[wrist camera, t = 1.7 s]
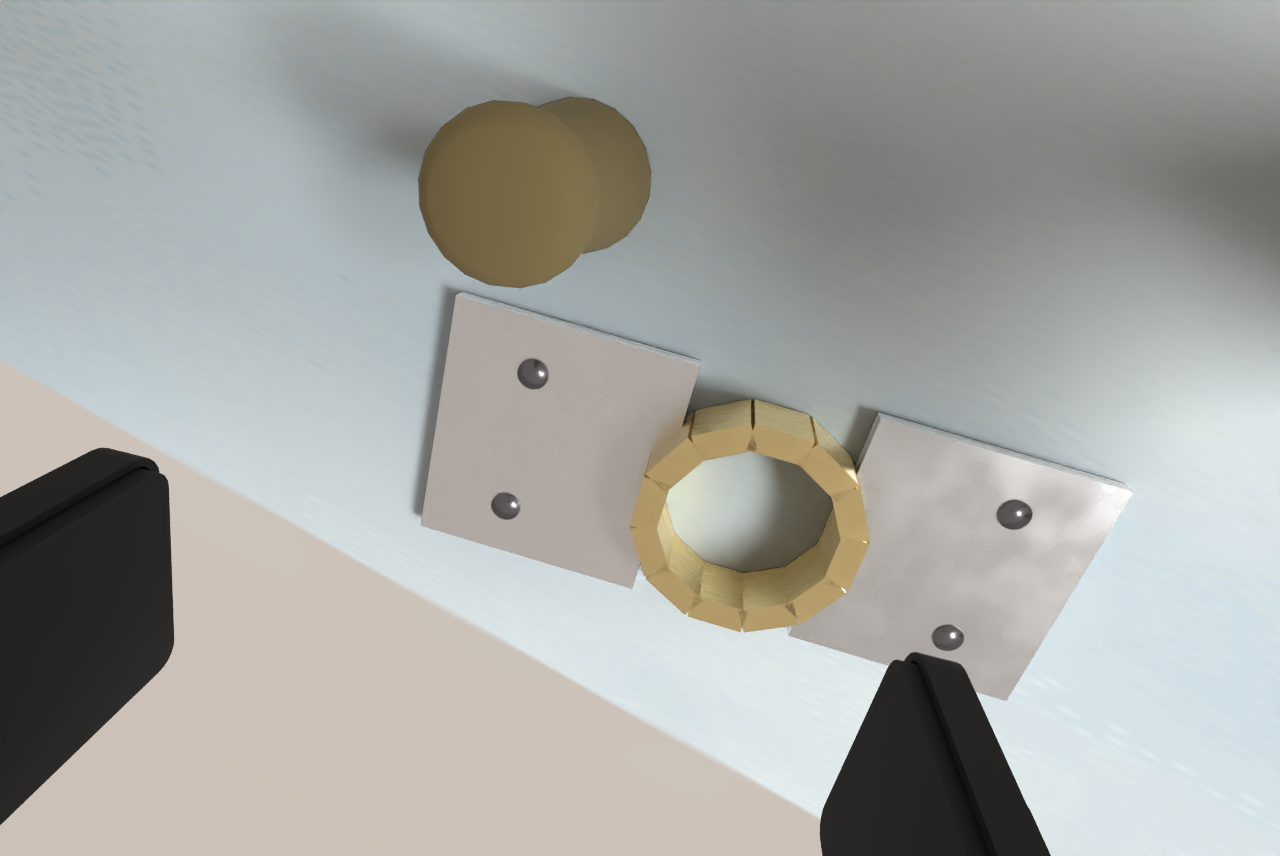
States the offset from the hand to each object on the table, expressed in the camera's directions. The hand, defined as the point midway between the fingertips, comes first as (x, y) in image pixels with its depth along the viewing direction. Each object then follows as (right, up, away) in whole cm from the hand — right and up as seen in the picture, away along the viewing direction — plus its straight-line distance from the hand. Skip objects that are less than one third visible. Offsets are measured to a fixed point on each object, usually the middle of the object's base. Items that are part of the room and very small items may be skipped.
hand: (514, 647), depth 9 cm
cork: (-1, +13, +21) cm, 25 cm away
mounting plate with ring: (+7, -1, +25) cm, 26 cm away
